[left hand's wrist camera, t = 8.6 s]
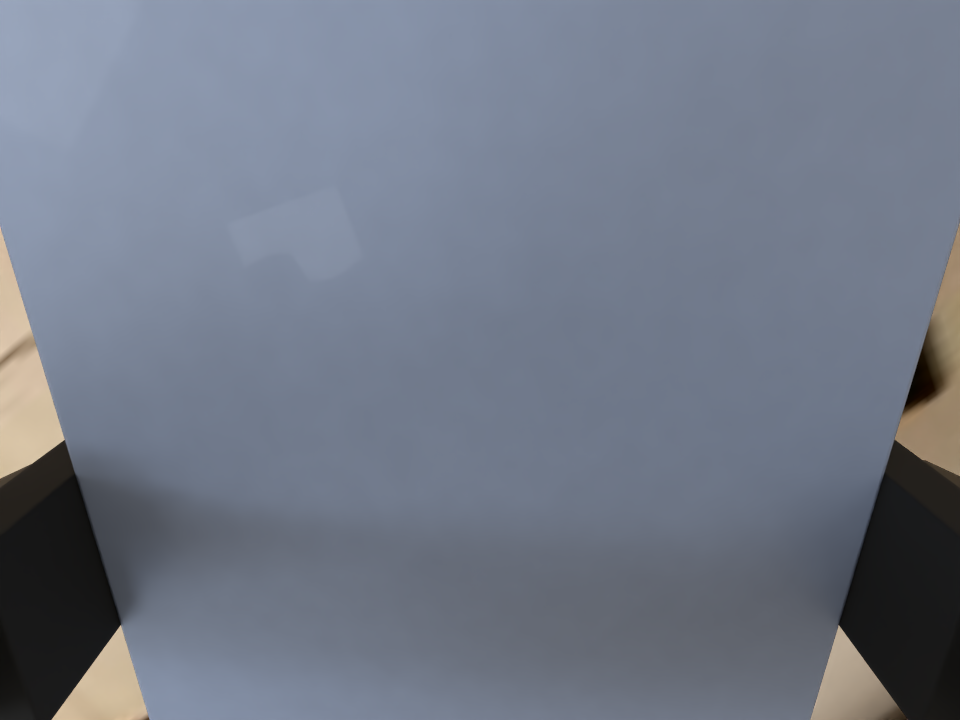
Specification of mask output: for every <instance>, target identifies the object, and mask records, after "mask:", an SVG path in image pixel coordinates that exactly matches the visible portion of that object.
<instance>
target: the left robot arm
mask: <svg viewBox="0 0 960 720" xmlns="http://www.w3.org/2000/svg"><path fill="white" fill-rule="evenodd" d="M120 625H121V623H120V620H119V617H118V613H117V610H116V607H115V603H114V600H113V597H112V593H111V590H110V587H109V583H108V580H107V577H106V574H105V570H104V567H103V564H102V560H101V557H100V554H99V550H98V547H97V544H96V541H95V537H94V534H93V531H92V527H91V524H90V521H89V517H88V514H87V511H86V508H85V504H84V501H83V498H82V494H81V491H80V488H79V484H78V481H77V478H76V475H75V471H74V468H73V465H72V461H71V458H70V455H69V451H68V448H67V445H66V442H65V440H64V441H63V442H61V443H60V444H59V445H57V446H56V447H55V448H53V449H52V450H50V451H49V452H48V453H46V454H45V455H44V456H42V457H41V458H40V459H38V460H37V461H36V462H34V463H33V464H31V465H29V466H27V467H24V468H22V469H20V470H18V471H16V472H14V473H12V474H9V475H7V476H5V477H3V478H1V479H0V720H52V718H53V717H54V715H55V714H56V713H57V711H58V710H59V709H60V707H61V706H62V704H63V703H64V702H65V700H66V699H67V698H68V696H69V695H70V694H71V692H72V691H73V689H74V688H75V687H76V685H77V684H78V683H79V681H80V680H81V679H82V677H83V676H84V674H85V673H86V672H87V670H88V669H89V668H90V666H91V665H92V663H93V662H94V661H95V659H96V658H97V657H98V655H99V654H100V653H101V651H102V650H103V648H104V647H105V646H106V644H107V643H108V642H109V640H110V639H111V637H112V636H113V635H114V633H115V632H116V631H117V629H118V628H119V627H120ZM839 626H840V627H841V628H842V630H843V631H844V633H845V634H846V635H847V637H848V638H849V639H850V641H851V642H852V644H853V645H854V646H855V648H856V649H857V650H858V652H859V653H860V654H861V656H862V657H863V659H864V660H865V661H866V663H867V664H868V665H869V667H870V668H871V669H872V671H873V672H874V674H875V675H876V676H877V678H878V679H879V680H880V682H881V683H882V685H883V686H884V687H885V689H886V690H887V691H888V693H889V694H890V695H891V697H892V698H893V700H894V701H895V702H896V704H897V705H898V706H899V708H900V709H901V711H902V712H903V713H904V715H905V716H906V717H907V719H908V720H960V476H958V475H956V474H954V473H951V472H949V471H947V470H945V469H943V468H941V467H938V466H936V465H934V464H932V463H930V462H928V461H926V460H921V459H920V458H919V457H917V456H916V455H915V454H913V453H912V452H910V451H909V450H908V449H906V448H905V447H904V446H902V445H901V444H900V443H898V442H897V441H896V440H894V442H893V446H892V449H891V452H890V456H889V459H888V462H887V466H886V469H885V472H884V476H883V479H882V482H881V486H880V489H879V492H878V496H877V499H876V502H875V506H874V509H873V512H872V516H871V519H870V522H869V526H868V529H867V532H866V536H865V539H864V542H863V546H862V549H861V552H860V556H859V559H858V562H857V566H856V569H855V572H854V576H853V579H852V582H851V586H850V589H849V592H848V595H847V599H846V602H845V605H844V609H843V612H842V615H841V619H840V622H839Z"/></svg>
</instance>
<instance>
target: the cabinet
mask: <svg viewBox="0 0 960 720" xmlns="http://www.w3.org/2000/svg"><path fill="white" fill-rule="evenodd" d="M959 223H960V0H0V227H1V230H2V234H3V237H4V240H5V243H6V247H7V250H8V253H9V257H10V260H11V263H12V267H13V270H14V273H15V276H16V280H17V283H18V286H19V290H20V293H21V296H22V300H23V303H24V306H25V310H26V313H27V316H28V319H29V323H30V326H31V329H32V333H33V336H34V339H35V343H36V346H37V349H38V352H39V356H40V359H41V362H42V366H43V369H44V372H45V376H46V379H47V382H48V385H49V389H50V392H51V395H52V399H53V402H54V405H55V409H56V412H57V415H58V418H59V422H60V425H61V428H62V432H63V435H64V438H65V442H66V445H67V448H68V451H69V455H70V458H71V461H72V465H73V468H74V471H75V475H76V478H77V481H78V484H79V488H80V491H81V494H82V498H83V501H84V504H85V508H86V511H87V514H88V517H89V521H90V524H91V527H92V531H93V534H94V537H95V541H96V544H97V547H98V550H99V554H100V557H101V560H102V564H103V567H104V570H105V574H106V577H107V580H108V583H109V587H110V590H111V593H112V597H113V600H114V603H115V607H116V610H117V613H118V617H119V620H120V623H121V626H122V630H123V633H124V636H125V640H126V643H127V646H128V650H129V653H130V656H131V659H132V663H133V666H134V669H135V673H136V676H137V679H138V683H139V686H140V689H141V692H142V696H143V699H144V702H145V706H146V709H147V712H148V716H149V719H150V720H810V719H811V715H812V712H813V709H814V705H815V702H816V699H817V695H818V692H819V689H820V685H821V682H822V679H823V675H824V672H825V669H826V665H827V662H828V659H829V655H830V652H831V649H832V645H833V642H834V639H835V635H836V632H837V629H838V625H839V622H840V619H841V615H842V612H843V609H844V605H845V602H846V599H847V595H848V592H849V589H850V586H851V582H852V579H853V576H854V572H855V569H856V566H857V562H858V559H859V556H860V552H861V549H862V546H863V542H864V539H865V536H866V532H867V529H868V526H869V522H870V519H871V516H872V512H873V509H874V506H875V502H876V499H877V496H878V492H879V489H880V486H881V482H882V479H883V476H884V472H885V469H886V466H887V462H888V459H889V456H890V452H891V449H892V446H893V442H894V439H895V436H896V432H897V429H898V426H899V422H900V419H901V416H902V412H903V409H904V406H905V403H906V399H907V396H908V393H909V389H910V386H911V383H912V379H913V376H914V373H915V369H916V366H917V363H918V359H919V356H920V353H921V349H922V346H923V343H924V339H925V336H926V333H927V329H928V326H929V323H930V319H931V316H932V313H933V309H934V306H935V303H936V299H937V296H938V293H939V289H940V286H941V283H942V279H943V276H944V273H945V269H946V266H947V263H948V259H949V256H950V253H951V249H952V246H953V243H954V239H955V236H956V233H957V229H958V226H959Z"/></svg>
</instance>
